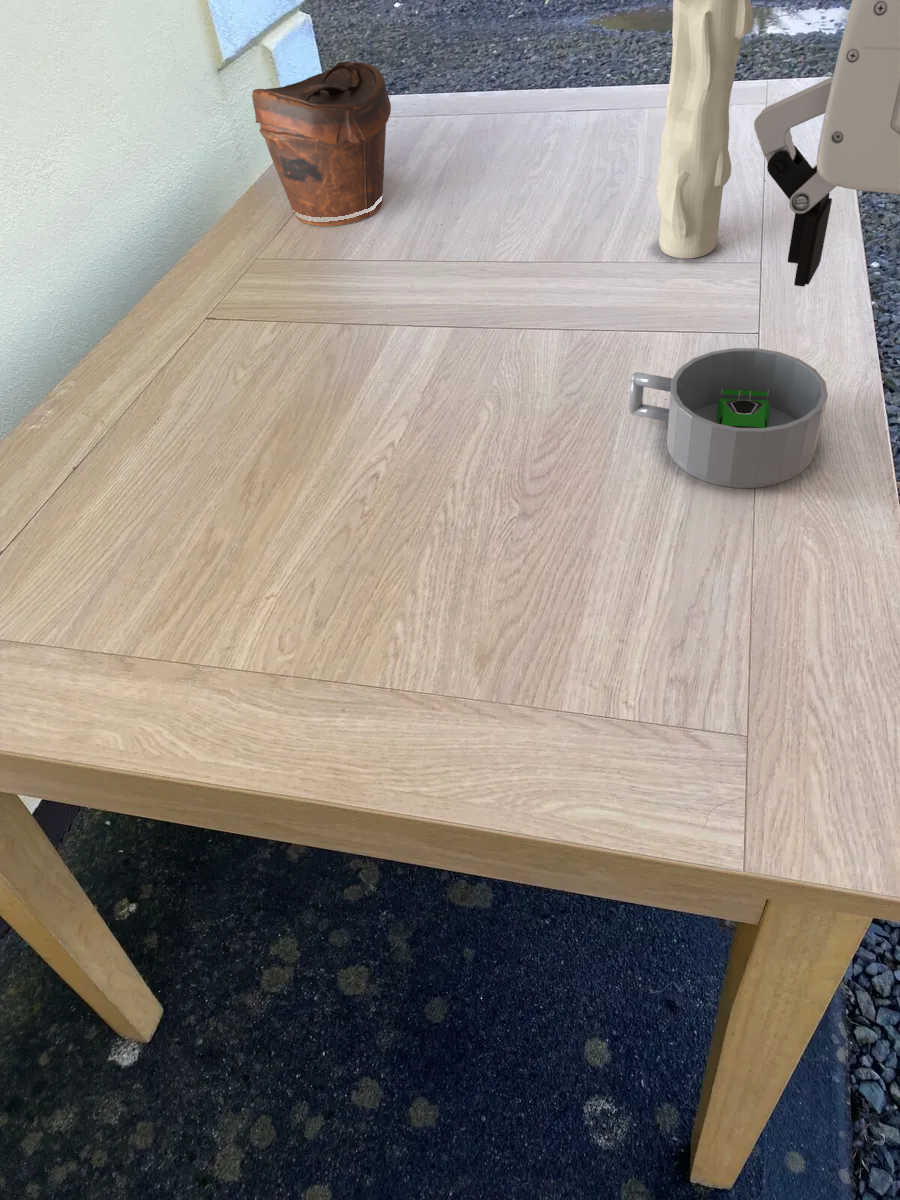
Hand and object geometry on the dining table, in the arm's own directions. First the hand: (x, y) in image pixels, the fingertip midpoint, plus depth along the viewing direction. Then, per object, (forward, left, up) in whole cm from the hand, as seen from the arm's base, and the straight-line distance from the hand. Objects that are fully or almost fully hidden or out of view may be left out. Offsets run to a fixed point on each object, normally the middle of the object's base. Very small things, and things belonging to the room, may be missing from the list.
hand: (897, 287), depth 50 cm
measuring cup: (+13, -19, -26) cm, 35 cm away
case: (+79, -55, -26) cm, 99 cm away
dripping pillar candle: (+28, -55, -26) cm, 67 cm away
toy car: (+11, -19, -26) cm, 34 cm away
